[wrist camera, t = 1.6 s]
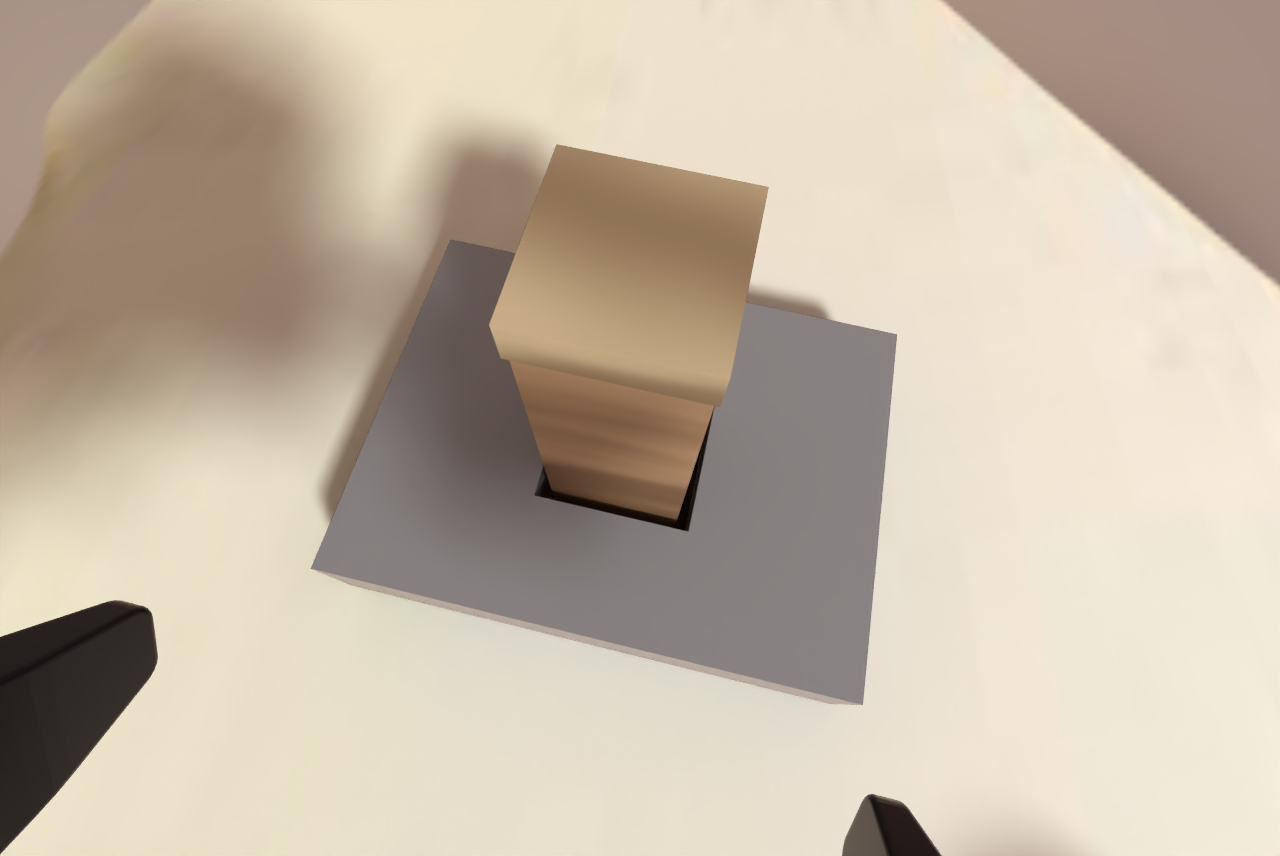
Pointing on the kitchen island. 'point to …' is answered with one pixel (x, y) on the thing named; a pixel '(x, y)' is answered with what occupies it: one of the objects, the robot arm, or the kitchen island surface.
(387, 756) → the kitchen island surface
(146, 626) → the robot arm
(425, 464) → the socket board
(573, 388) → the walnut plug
